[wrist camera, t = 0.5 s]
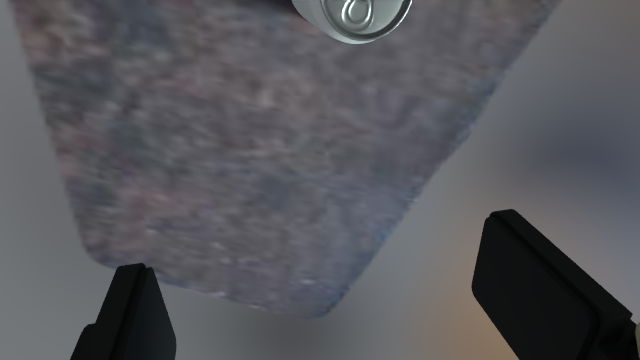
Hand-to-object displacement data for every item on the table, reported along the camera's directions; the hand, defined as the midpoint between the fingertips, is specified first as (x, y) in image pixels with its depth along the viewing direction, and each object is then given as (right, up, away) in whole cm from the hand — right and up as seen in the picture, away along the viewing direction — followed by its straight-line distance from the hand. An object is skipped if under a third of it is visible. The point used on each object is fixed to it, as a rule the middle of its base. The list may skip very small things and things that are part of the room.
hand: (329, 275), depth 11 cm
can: (0, +19, +22) cm, 29 cm away
